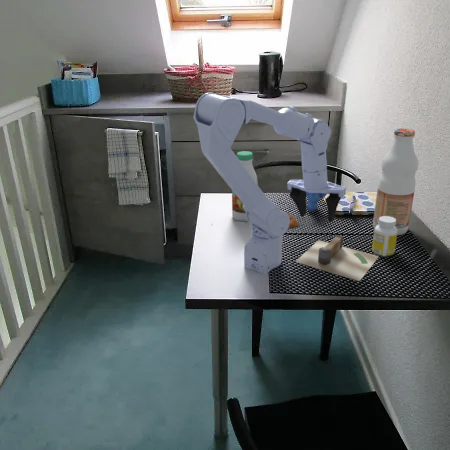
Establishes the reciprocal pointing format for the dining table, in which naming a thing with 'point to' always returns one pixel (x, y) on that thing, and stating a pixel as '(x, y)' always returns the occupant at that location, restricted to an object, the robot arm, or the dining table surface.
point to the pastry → (292, 222)
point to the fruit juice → (397, 181)
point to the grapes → (313, 200)
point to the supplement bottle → (385, 236)
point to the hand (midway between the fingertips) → (317, 217)
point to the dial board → (340, 261)
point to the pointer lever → (330, 250)
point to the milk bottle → (237, 205)
